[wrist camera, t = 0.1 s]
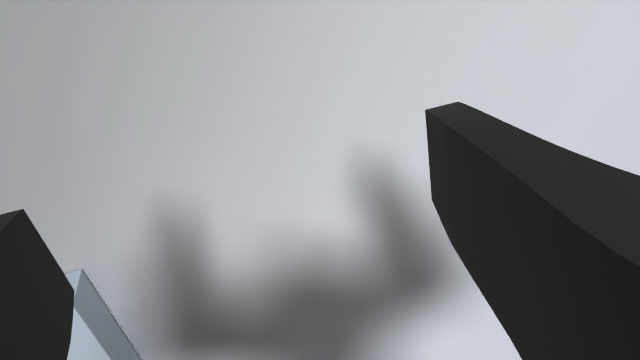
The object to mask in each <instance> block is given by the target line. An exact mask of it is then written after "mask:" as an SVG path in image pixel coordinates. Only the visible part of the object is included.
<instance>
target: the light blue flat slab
mask: <svg viewBox="0 0 640 360" xmlns="http://www.w3.org/2000/svg"><path fill="white" fill-rule="evenodd" d="M65 276H66V278H67V279H68V281H69V282H70V284H71V286H72V287H73V289H74V290H75V292H74V309H73V323H72V334H71V343H70V347H69V352H68V357H67V360H141V359H140V358H139V356H138V355H137V353H136V352H135V350H134V349H133V347H132V345H131V344H130V342H129V341H128V339H127V338H126V336H125V335H124V333H123V332H122V330H121V329H120V327H119V326H118V324H117V323H116V321H115V319H114V318H113V316H112V315H111V313H110V312H109V310H108V309H107V307H106V306H105V304H104V303H103V301H102V300H101V298H100V297H99V295H98V293H97V292H96V290H95V289H94V287H93V286H92V284H91V283H90V281H89V280H88V278H87V277H86V275H85V274H84V272H83V271H82V269H81V270H77V271H74V272H70V273H67V274H65Z"/></svg>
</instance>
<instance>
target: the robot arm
mask: <svg viewBox="0 0 640 360" xmlns="http://www.w3.org/2000/svg"><path fill="white" fill-rule="evenodd" d="M425 113H426V126H427V140H428V153H429V167H430V180H431V194H432V201H433V203H434V206H435V208H436V210H437V213H438V215H439V217H440V220H441V222H442V224H443V226H444V228H445V231H446V233H447V235H448V237H449V239H450V242H451V244H452V245H453V247H454V249H455V250H456V252H457V254H458V255H459V257H460V259H461V260H462V262H463V263H464V265H465V267H466V268H467V270H468V272H469V273H470V275H471V276H472V278H473V280H474V281H475V283H476V284H477V286H478V288H479V289H480V291H481V292H482V294H483V296H484V297H485V299H486V300H487V302H488V304H489V305H490V307H491V308H492V310H493V312H494V313H495V315H496V316H497V318H498V320H499V321H500V323H501V324H502V326H503V328H504V329H505V331H506V332H507V334H508V336H509V337H510V339H511V341H512V342H513V344H514V346H515V348H516V349H517V351H518V353H519V355H520V357H521V358H522V360H640V176H639V175H636V174H633V173H630V172H627V171H624V170H621V169H618V168H615V167H612V166H609V165H606V164H604V163H601V162H598V161H596V160H593V159H590V158H588V157H585V156H582V155H580V154H577V153H574V152H572V151H570V150H567V149H565V148H562V147H560V146H557V145H555V144H553V143H550V142H548V141H546V140H543V139H541V138H539V137H536V136H534V135H532V134H530V133H527V132H525V131H523V130H521V129H519V128H516V127H514V126H512V125H510V124H508V123H506V122H503V121H501V120H499V119H497V118H495V117H493V116H491V115H488V114H486V113H484V112H482V111H480V110H477V109H475V108H473V107H471V106H468V105H466V104H463V103H460V102H455V103H451V104H447V105H443V106H439V107H435V108H431V109H427V110H425ZM74 292H75V290H74V289H73V287H72V286H71V284H70V282H69V281H68V279H67V278H66V276H65V274H64V273H63V271H62V270H61V268H60V267H59V265H58V263H57V262H56V260H55V259H54V257H53V255H52V254H51V252H50V251H49V249H48V247H47V246H46V244H45V243H44V241H43V240H42V238H41V236H40V235H39V233H38V232H37V230H36V228H35V227H34V225H33V224H32V222H31V220H30V219H29V217H28V216H27V214H26V212H25V211H24V209H22V210H17V211H13V212H9V213H5V214H1V215H0V360H67V357H68V352H69V347H70V343H71V334H72V323H73V309H74Z"/></svg>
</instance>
